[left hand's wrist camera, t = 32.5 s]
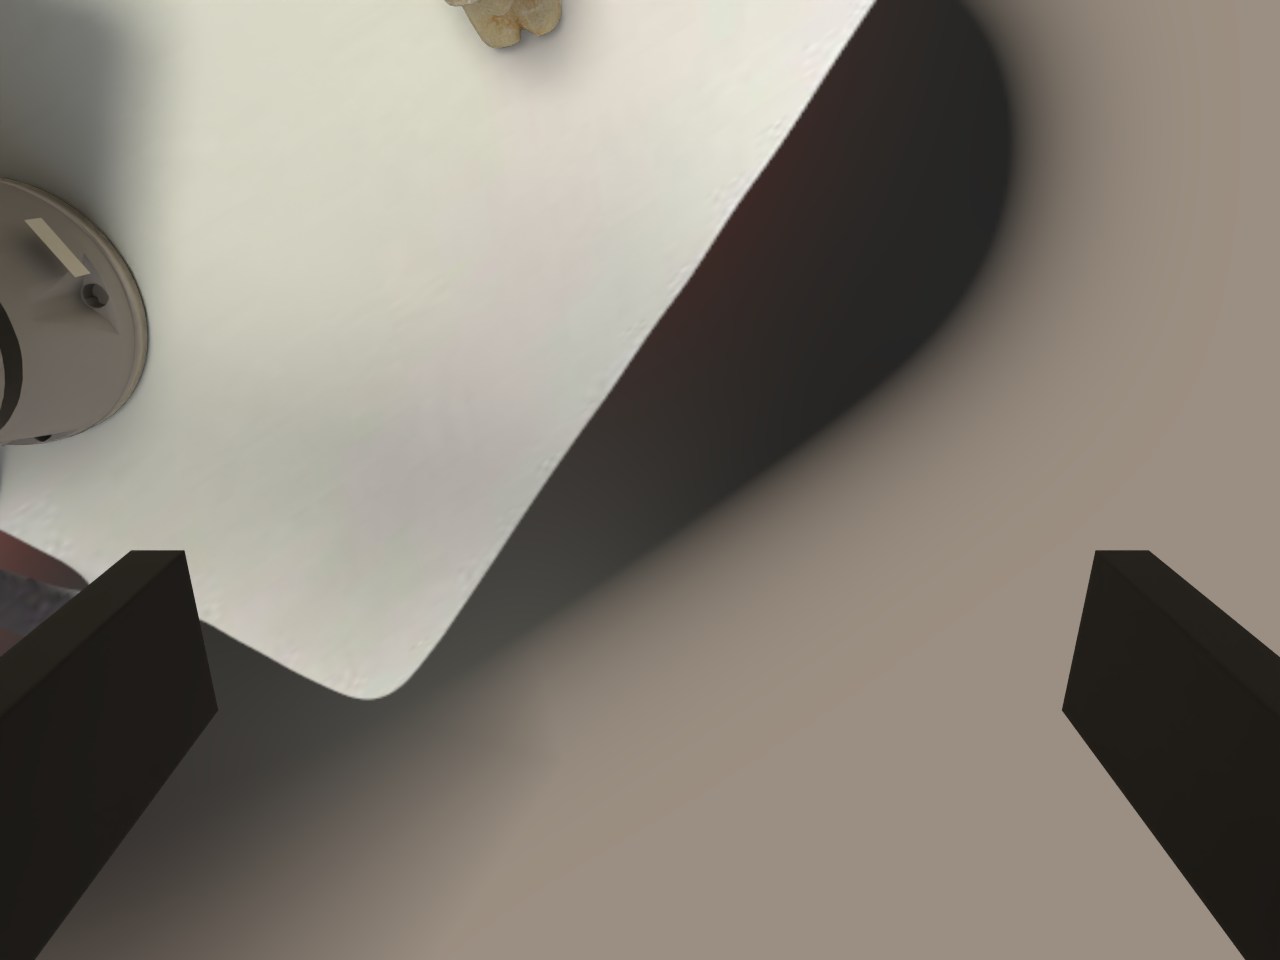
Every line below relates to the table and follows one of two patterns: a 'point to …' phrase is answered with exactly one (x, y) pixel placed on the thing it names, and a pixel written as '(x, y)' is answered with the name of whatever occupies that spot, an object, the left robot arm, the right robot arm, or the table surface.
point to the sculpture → (510, 18)
